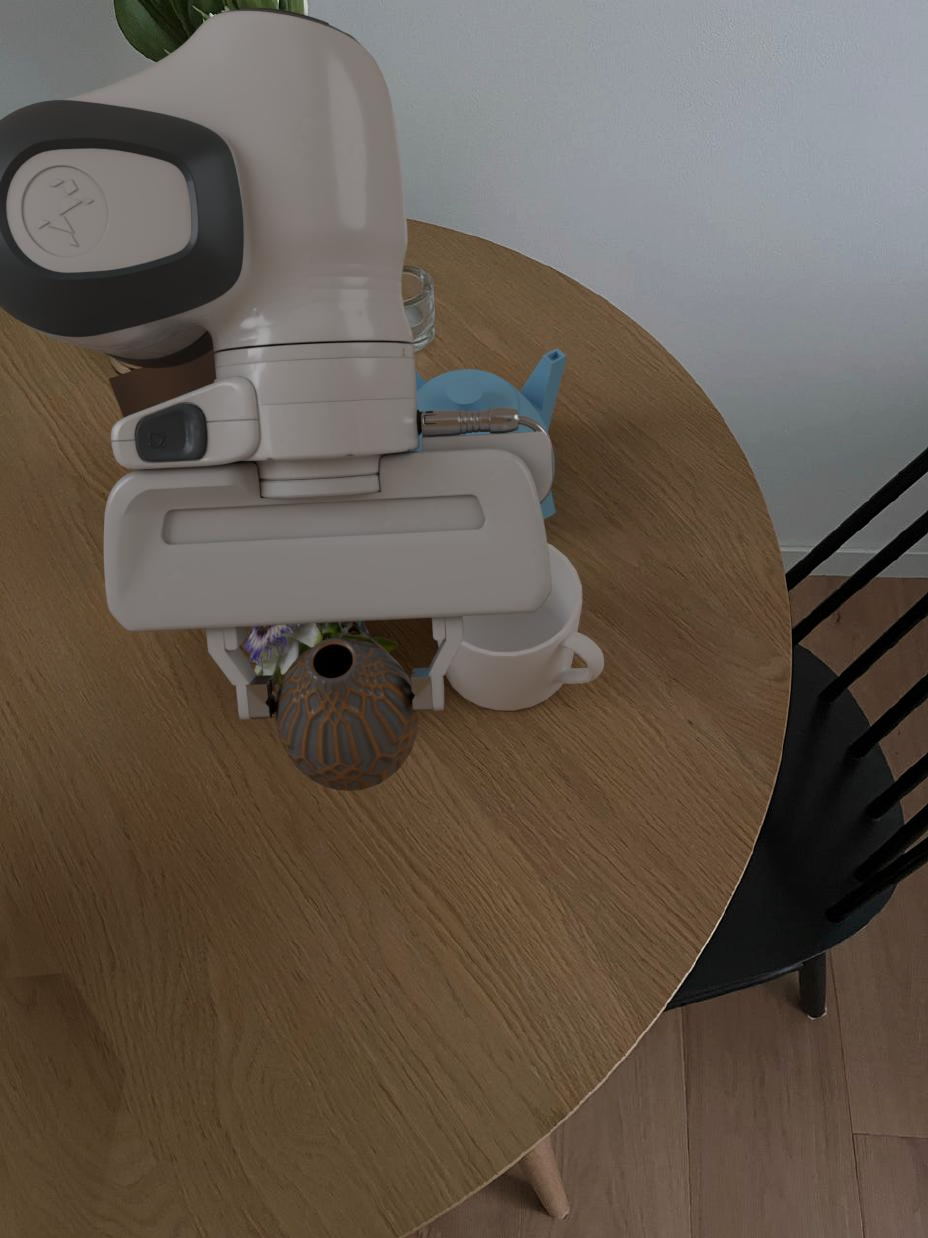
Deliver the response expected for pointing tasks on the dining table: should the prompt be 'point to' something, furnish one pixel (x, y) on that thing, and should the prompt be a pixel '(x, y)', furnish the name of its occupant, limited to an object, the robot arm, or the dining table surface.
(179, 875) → the dining table surface
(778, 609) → the dining table surface
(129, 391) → the stand
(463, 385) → the teapot
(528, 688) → the mug
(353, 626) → the passion flower
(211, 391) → the robot arm
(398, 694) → the vase
